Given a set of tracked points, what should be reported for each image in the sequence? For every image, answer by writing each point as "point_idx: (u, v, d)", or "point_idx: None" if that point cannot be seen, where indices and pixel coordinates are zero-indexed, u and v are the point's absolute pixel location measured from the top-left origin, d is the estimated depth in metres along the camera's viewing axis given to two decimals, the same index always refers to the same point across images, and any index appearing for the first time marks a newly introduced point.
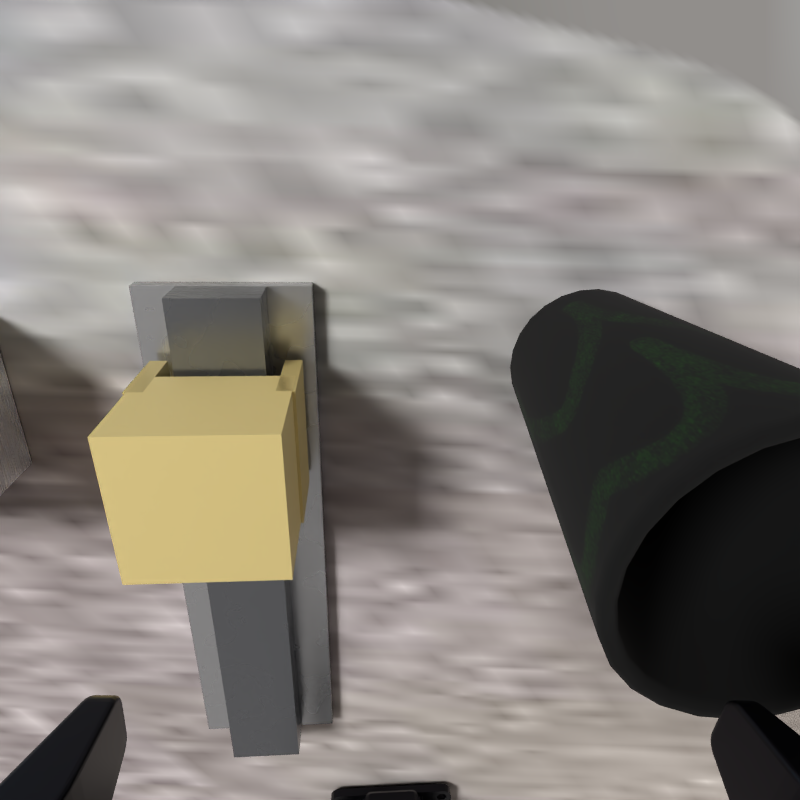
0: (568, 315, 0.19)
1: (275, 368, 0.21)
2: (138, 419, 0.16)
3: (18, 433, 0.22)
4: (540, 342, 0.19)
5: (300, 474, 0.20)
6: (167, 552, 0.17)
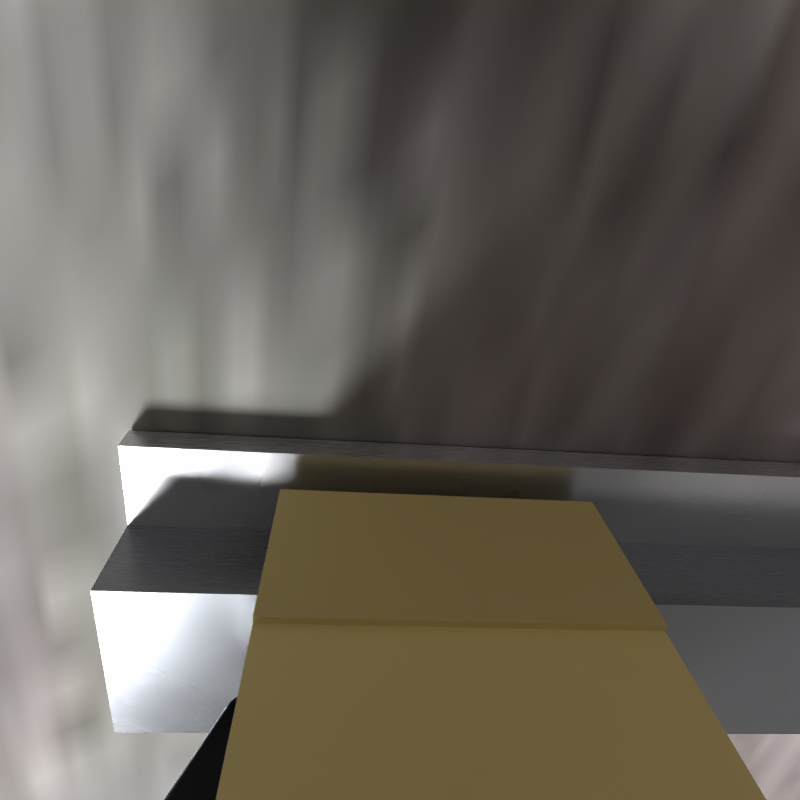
0: None
1: None
2: None
3: None
4: None
5: (513, 618, 0.07)
6: None
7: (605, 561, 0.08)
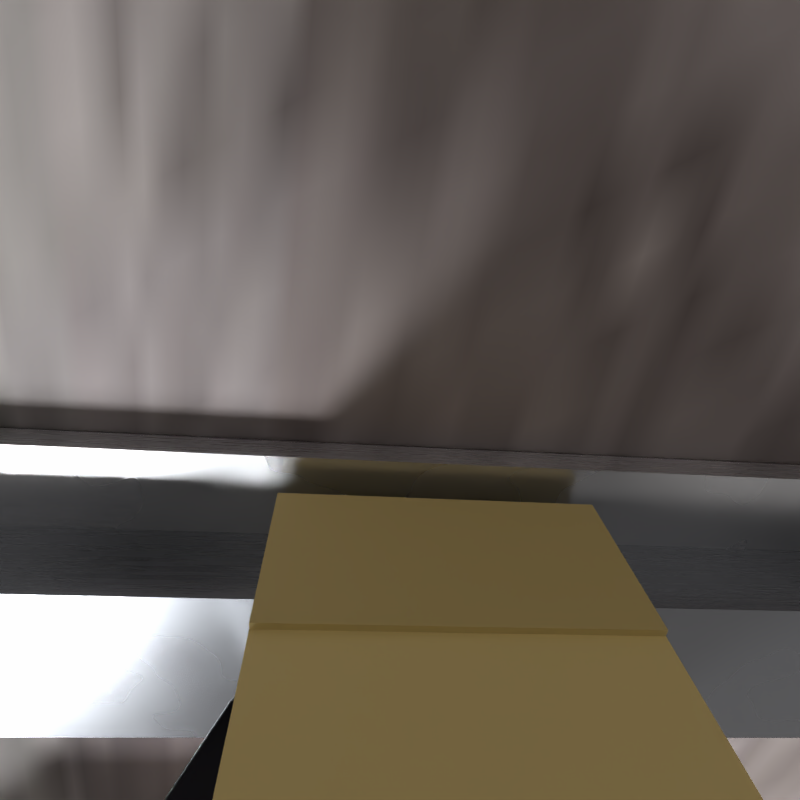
0: None
1: None
2: None
3: None
4: None
5: (513, 623, 0.07)
6: None
7: (605, 565, 0.08)
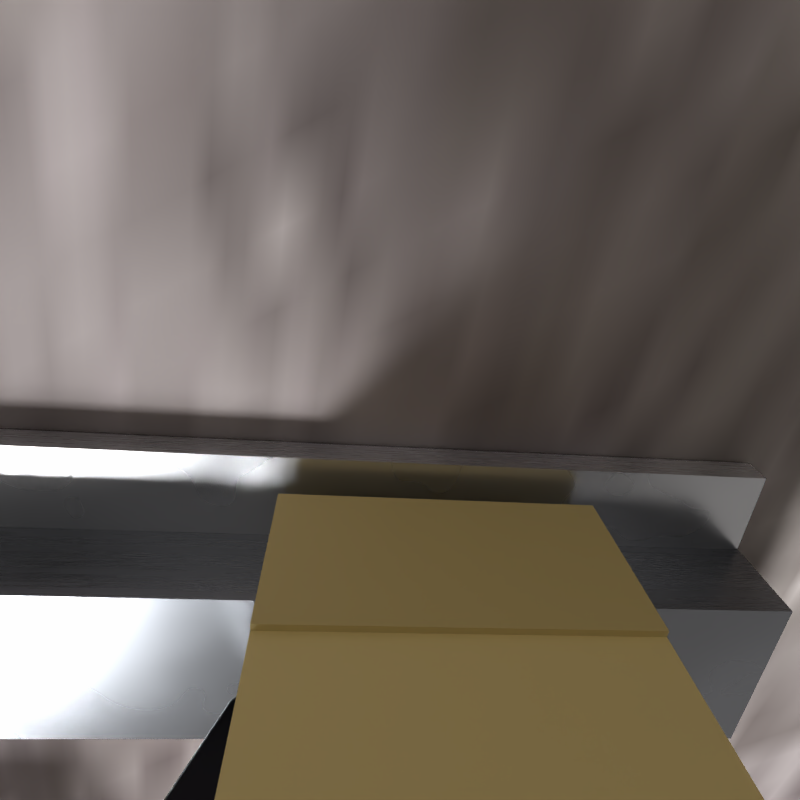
0: None
1: None
2: None
3: None
4: None
5: (514, 624, 0.07)
6: None
7: (606, 566, 0.08)
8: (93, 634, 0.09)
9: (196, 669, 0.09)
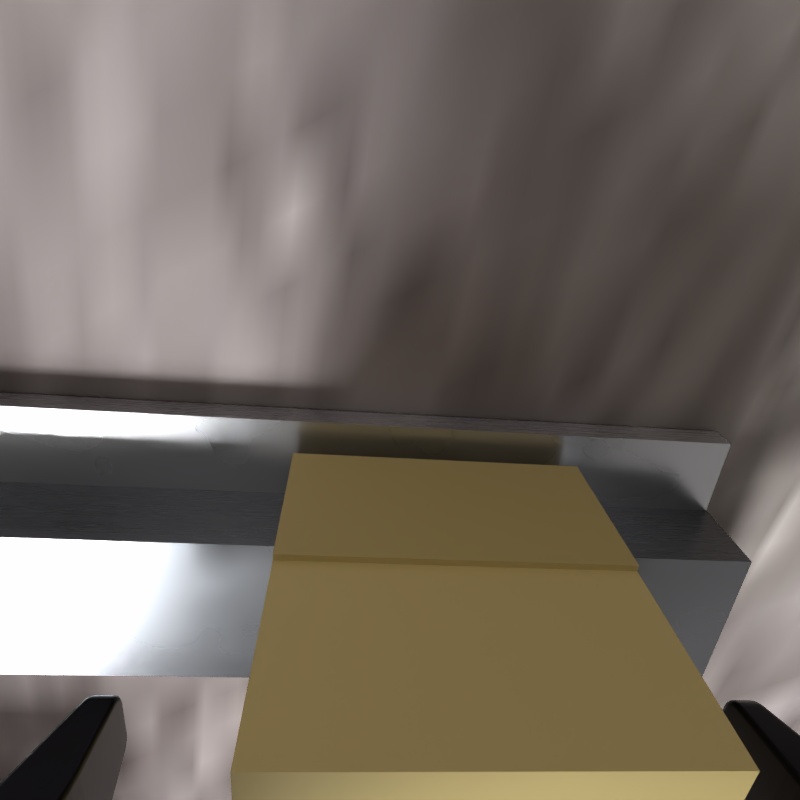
0: None
1: None
2: None
3: None
4: None
5: (502, 558, 0.08)
6: None
7: (586, 514, 0.09)
8: (122, 576, 0.10)
9: (213, 610, 0.10)
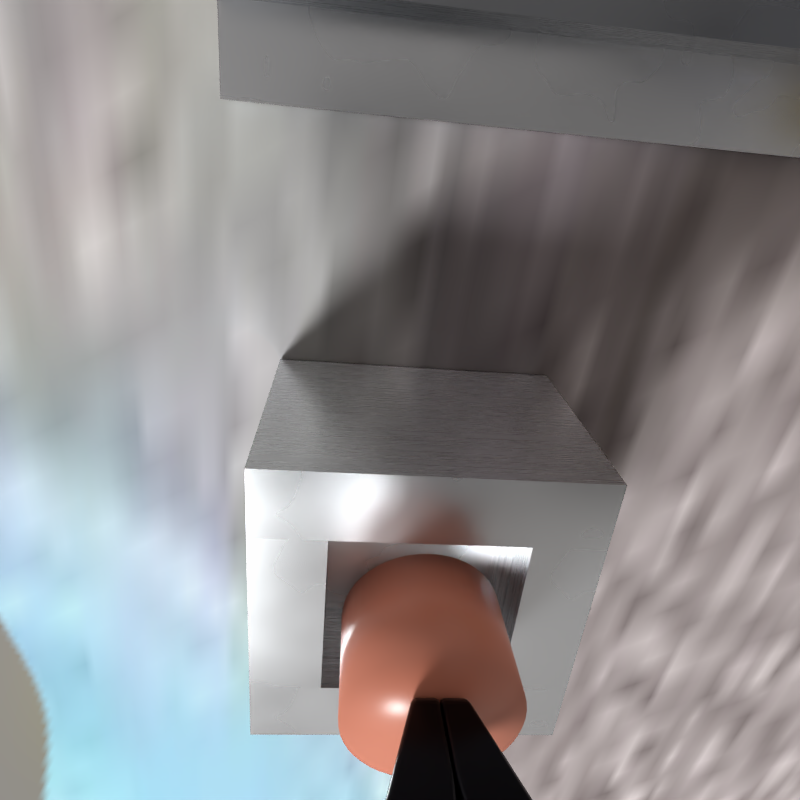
0: None
1: None
2: None
3: (487, 376, 0.13)
4: None
5: None
6: None
7: None
8: None
9: None
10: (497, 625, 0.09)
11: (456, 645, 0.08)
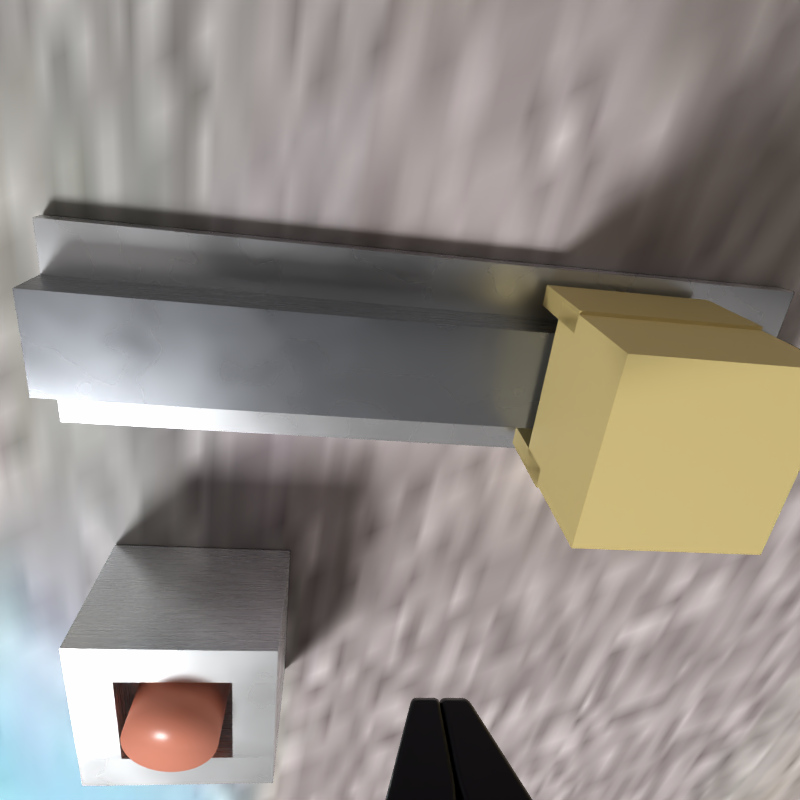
0: None
1: (154, 281, 0.16)
2: (567, 491, 0.15)
3: (248, 554, 0.21)
4: None
5: (693, 320, 0.15)
6: (738, 503, 0.14)
7: (725, 312, 0.16)
8: (455, 349, 0.16)
9: (500, 376, 0.17)
10: (209, 693, 0.18)
11: (174, 706, 0.17)
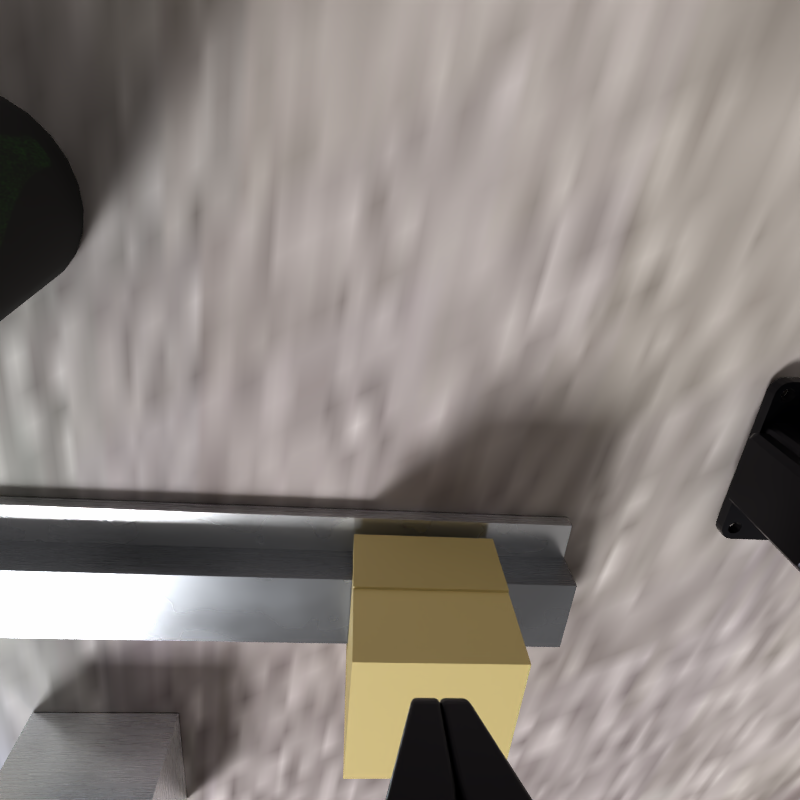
0: None
1: (38, 539, 0.21)
2: (345, 728, 0.19)
3: (141, 719, 0.25)
4: None
5: (450, 587, 0.19)
6: None
7: (491, 565, 0.20)
8: (275, 593, 0.20)
9: (316, 609, 0.21)
10: None
11: None
